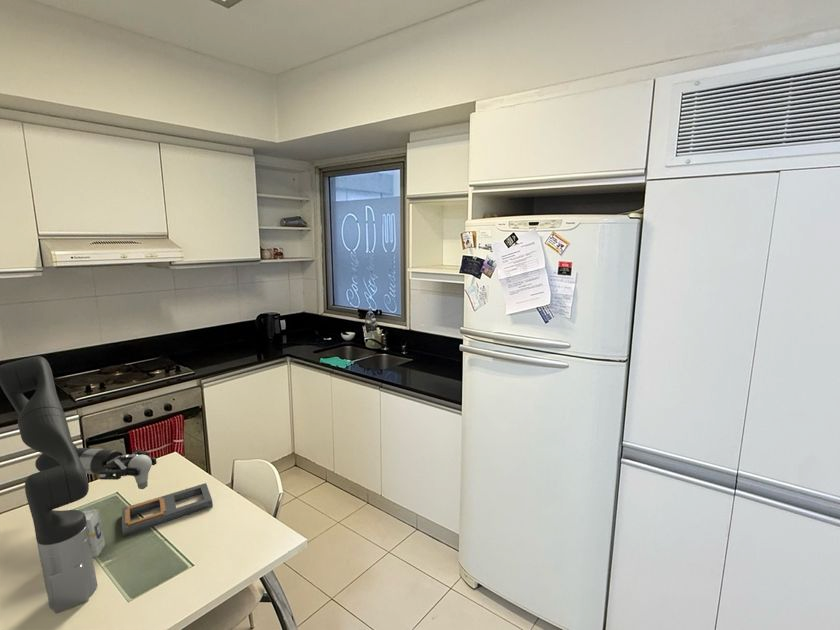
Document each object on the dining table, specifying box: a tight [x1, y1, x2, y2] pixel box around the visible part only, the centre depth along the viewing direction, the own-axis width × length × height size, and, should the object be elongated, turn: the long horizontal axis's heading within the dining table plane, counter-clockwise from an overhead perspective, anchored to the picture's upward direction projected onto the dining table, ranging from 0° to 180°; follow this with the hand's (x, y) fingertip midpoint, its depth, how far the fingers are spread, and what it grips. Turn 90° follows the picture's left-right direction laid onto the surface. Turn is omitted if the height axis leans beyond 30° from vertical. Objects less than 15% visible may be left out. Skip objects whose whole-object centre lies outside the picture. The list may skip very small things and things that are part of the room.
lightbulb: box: [128, 455, 153, 490], centre depth 130 cm, size 6×6×11 cm
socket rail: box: [121, 482, 214, 538], centre depth 136 cm, size 12×24×3 cm, turn 125°
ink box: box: [81, 508, 106, 558], centre depth 117 cm, size 9×5×12 cm, turn 105°
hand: (147, 466), depth 129 cm, fingers closed on lightbulb, 5 cm apart
